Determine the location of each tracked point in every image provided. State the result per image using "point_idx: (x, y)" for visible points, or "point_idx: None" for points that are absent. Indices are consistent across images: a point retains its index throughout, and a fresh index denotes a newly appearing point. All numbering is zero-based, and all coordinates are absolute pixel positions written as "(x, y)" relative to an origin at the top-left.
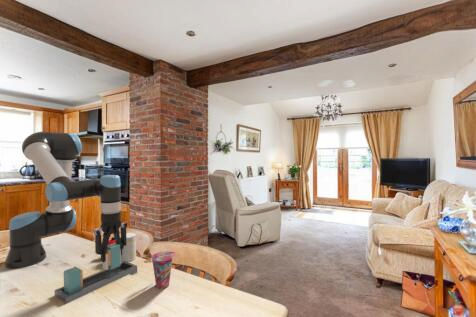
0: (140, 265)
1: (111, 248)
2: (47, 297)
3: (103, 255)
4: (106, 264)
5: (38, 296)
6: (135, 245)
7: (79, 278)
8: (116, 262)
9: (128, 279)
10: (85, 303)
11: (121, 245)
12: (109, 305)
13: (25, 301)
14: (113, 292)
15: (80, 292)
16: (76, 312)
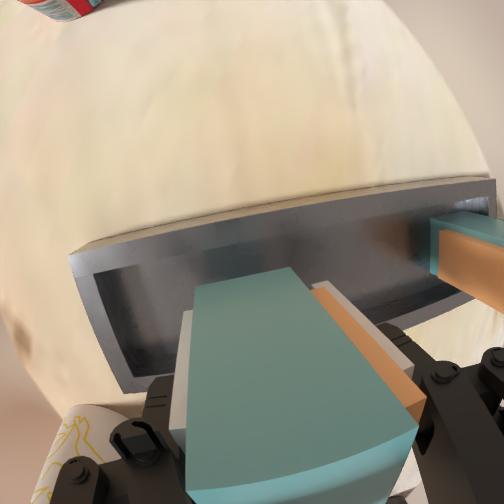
0: (52, 320)
1: (400, 423)
2: (471, 304)
3: (425, 367)
4: (349, 301)
5: (474, 330)
6: (44, 466)
7: (495, 234)
8: (242, 298)
9: (168, 186)
10: (427, 127)
11: (143, 480)
12: (358, 18)
13: (493, 321)
14: (307, 99)
15: (457, 181)
16: (454, 98)
